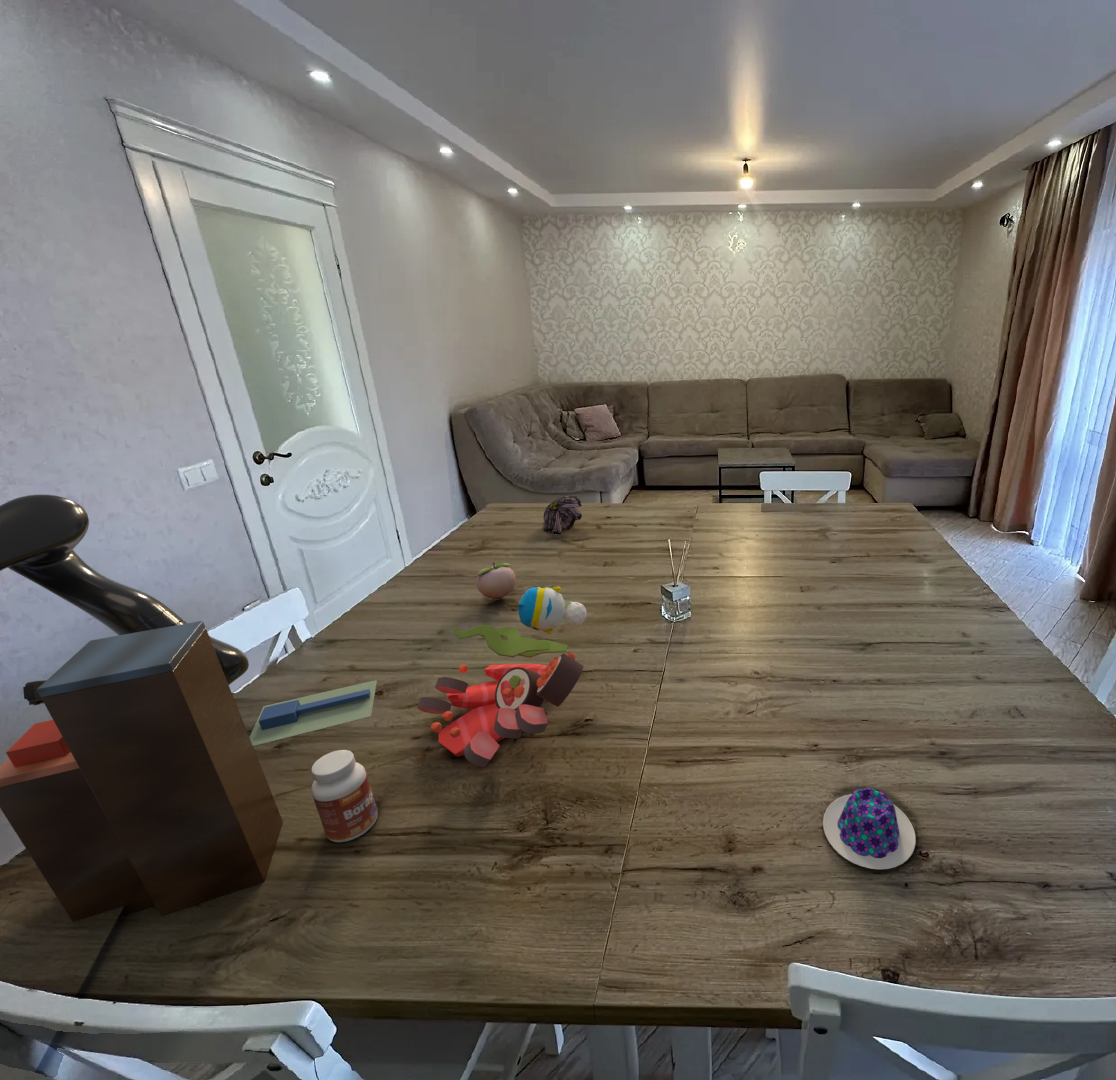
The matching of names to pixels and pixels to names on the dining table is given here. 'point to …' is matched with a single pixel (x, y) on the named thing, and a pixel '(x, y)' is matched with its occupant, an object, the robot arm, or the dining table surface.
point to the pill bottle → (343, 796)
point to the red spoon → (38, 745)
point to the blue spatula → (304, 709)
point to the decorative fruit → (496, 581)
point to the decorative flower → (561, 514)
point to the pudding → (869, 830)
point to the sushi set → (509, 681)
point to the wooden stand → (144, 780)
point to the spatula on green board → (318, 714)
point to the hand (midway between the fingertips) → (79, 681)
